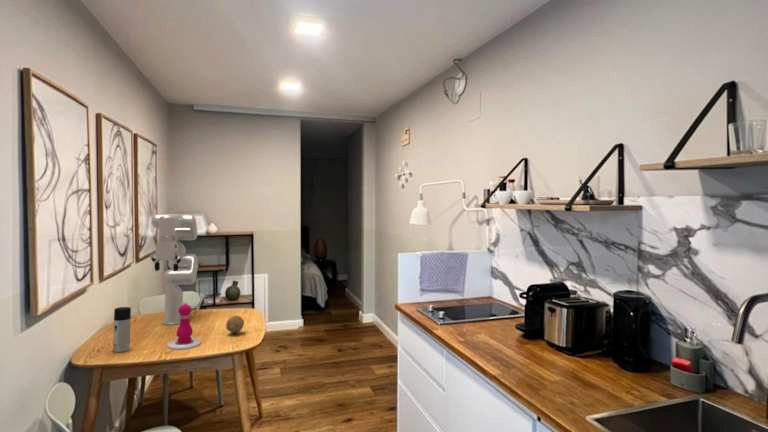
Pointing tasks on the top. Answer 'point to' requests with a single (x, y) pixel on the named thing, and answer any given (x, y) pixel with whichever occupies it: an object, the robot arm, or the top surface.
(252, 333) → the top surface
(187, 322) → the pepper mill
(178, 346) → the mount plate
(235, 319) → the natural sponge
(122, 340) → the spray can
